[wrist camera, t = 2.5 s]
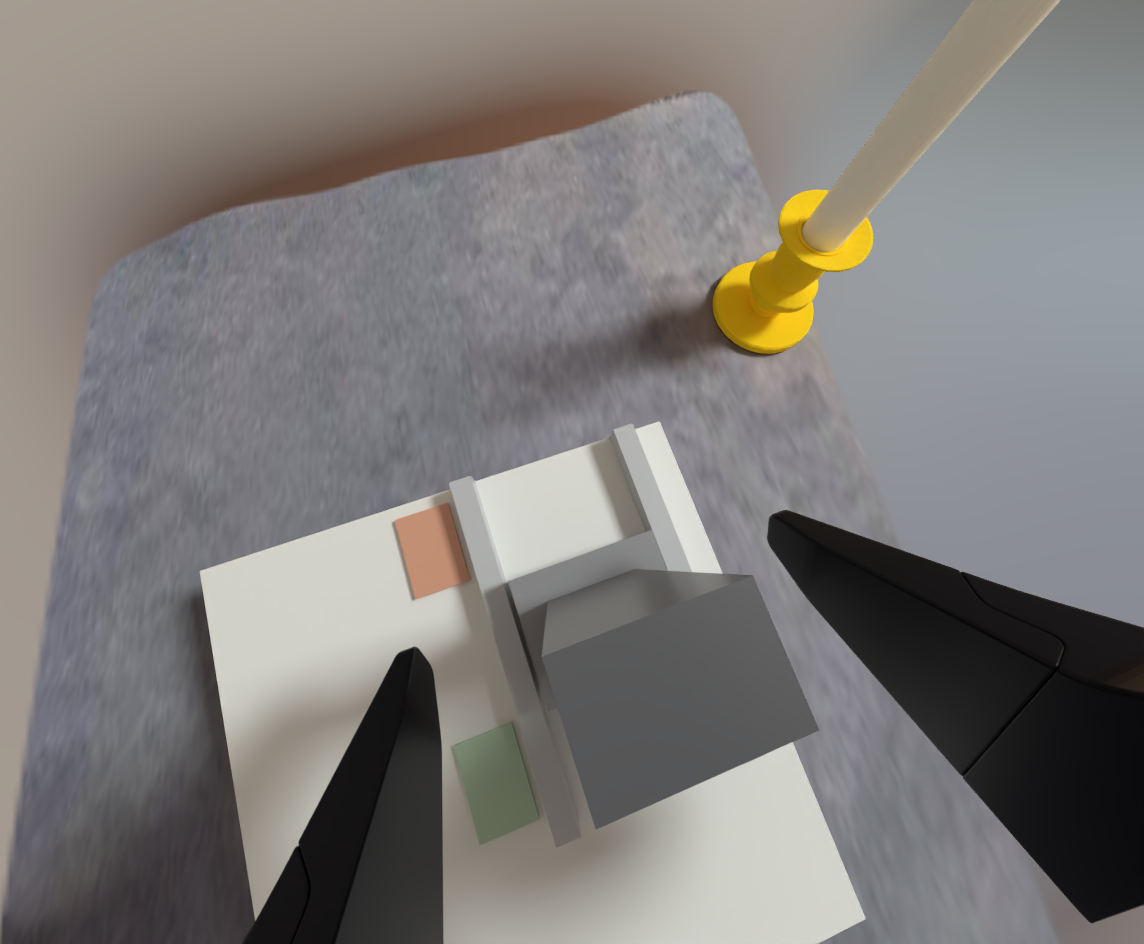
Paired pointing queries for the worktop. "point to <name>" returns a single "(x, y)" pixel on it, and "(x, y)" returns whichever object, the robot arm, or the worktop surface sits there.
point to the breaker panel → (507, 717)
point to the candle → (866, 182)
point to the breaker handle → (656, 672)
